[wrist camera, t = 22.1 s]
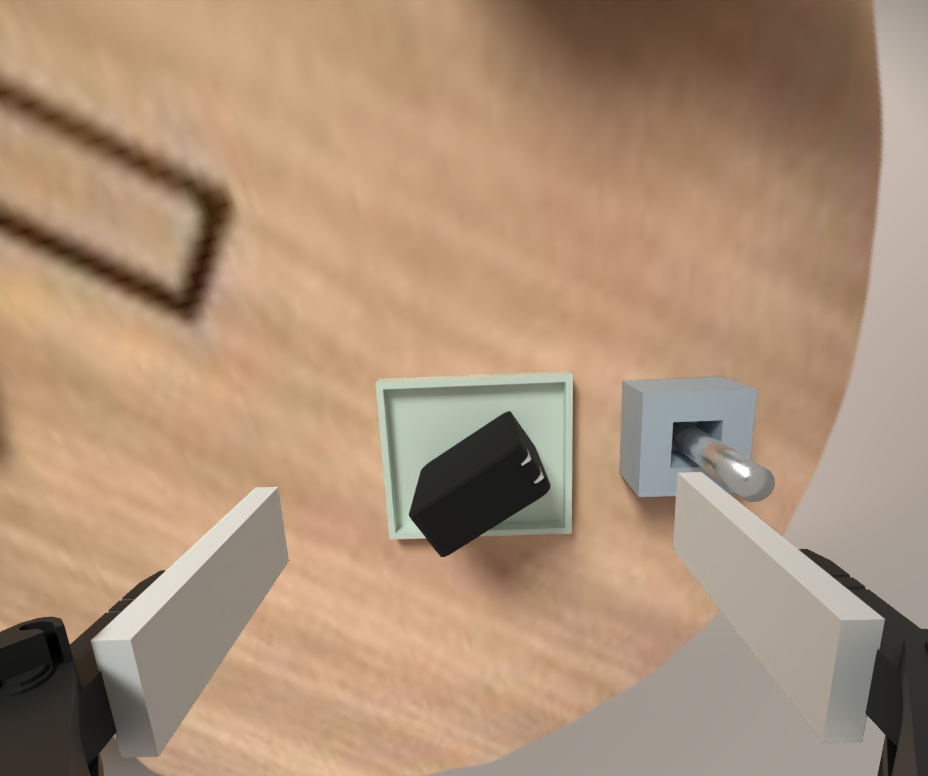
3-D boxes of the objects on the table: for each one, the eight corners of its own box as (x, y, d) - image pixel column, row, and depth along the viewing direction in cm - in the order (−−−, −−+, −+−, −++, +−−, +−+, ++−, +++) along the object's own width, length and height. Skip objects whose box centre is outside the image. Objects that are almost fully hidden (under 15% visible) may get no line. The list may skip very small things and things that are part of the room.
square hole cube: (622, 380, 41) (643, 393, 36) (723, 376, 41) (757, 388, 36) (619, 473, 43) (638, 497, 38) (715, 469, 43) (747, 493, 38)
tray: (379, 378, 41) (375, 382, 39) (568, 371, 41) (572, 374, 39) (392, 529, 44) (389, 539, 43) (567, 523, 44) (571, 533, 42)
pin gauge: (662, 416, 41) (738, 466, 29) (689, 416, 40) (777, 467, 29) (660, 442, 41) (734, 501, 29) (686, 442, 41) (771, 502, 29)
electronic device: (421, 466, 42) (406, 519, 33) (509, 407, 41) (521, 445, 31) (446, 500, 43) (439, 562, 33) (534, 443, 42) (553, 491, 32)
